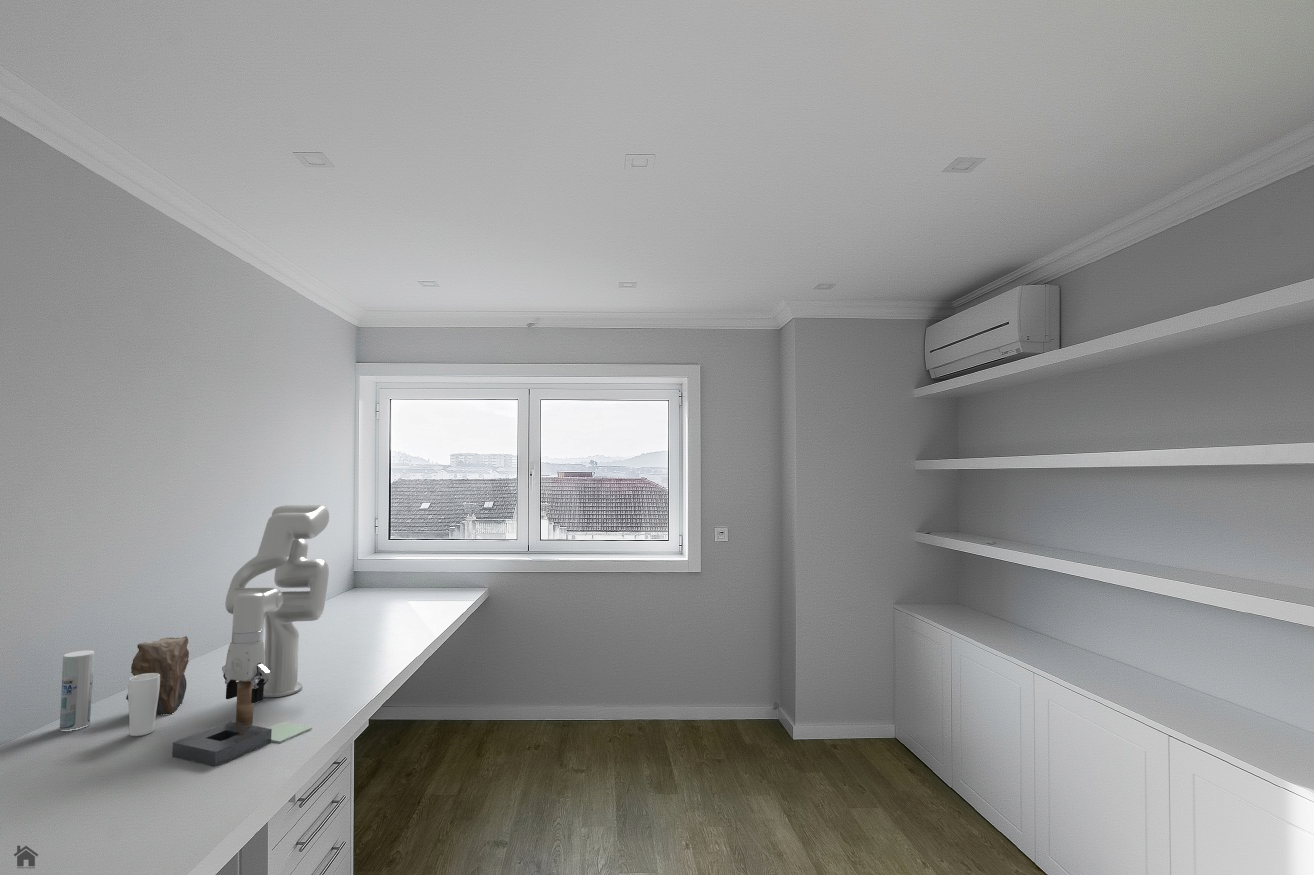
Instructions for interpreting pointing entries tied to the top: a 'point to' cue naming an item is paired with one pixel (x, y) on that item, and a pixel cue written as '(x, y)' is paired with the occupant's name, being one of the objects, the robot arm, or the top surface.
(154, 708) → the drinking glass
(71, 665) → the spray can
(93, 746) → the top surface
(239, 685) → the tan rounded cylinder
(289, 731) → the set down mat
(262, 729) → the dark grey socket block
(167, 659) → the jagged brown boulder
